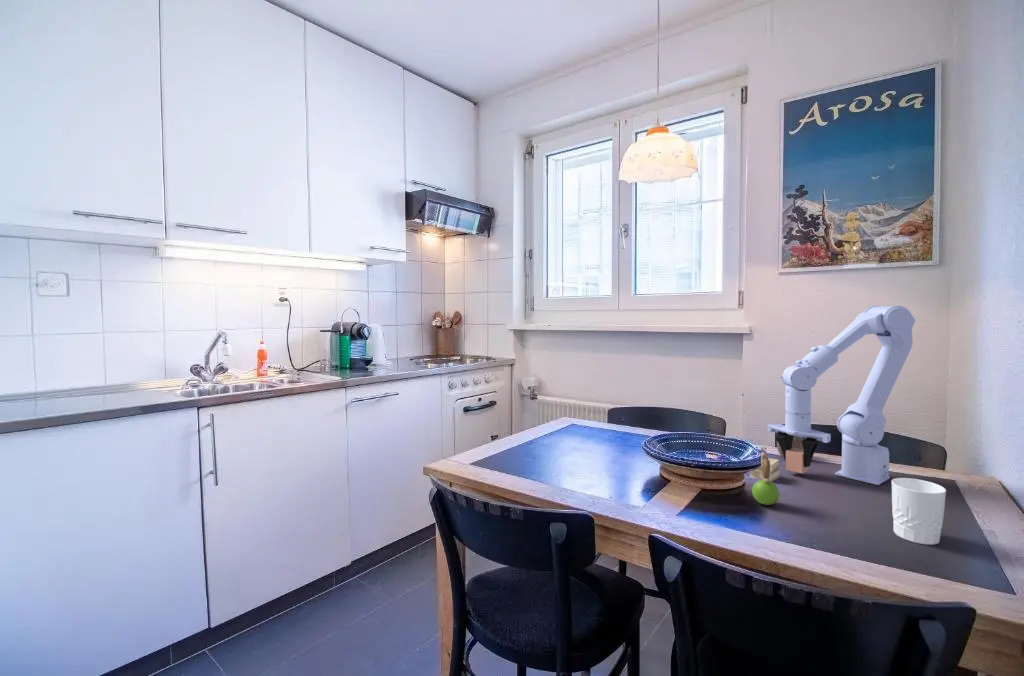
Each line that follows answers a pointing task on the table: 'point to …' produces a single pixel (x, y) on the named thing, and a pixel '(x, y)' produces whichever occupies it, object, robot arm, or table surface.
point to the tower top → (771, 466)
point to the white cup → (918, 510)
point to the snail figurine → (765, 484)
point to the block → (795, 460)
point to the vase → (795, 444)
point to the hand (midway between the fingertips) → (797, 463)
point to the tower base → (759, 475)
